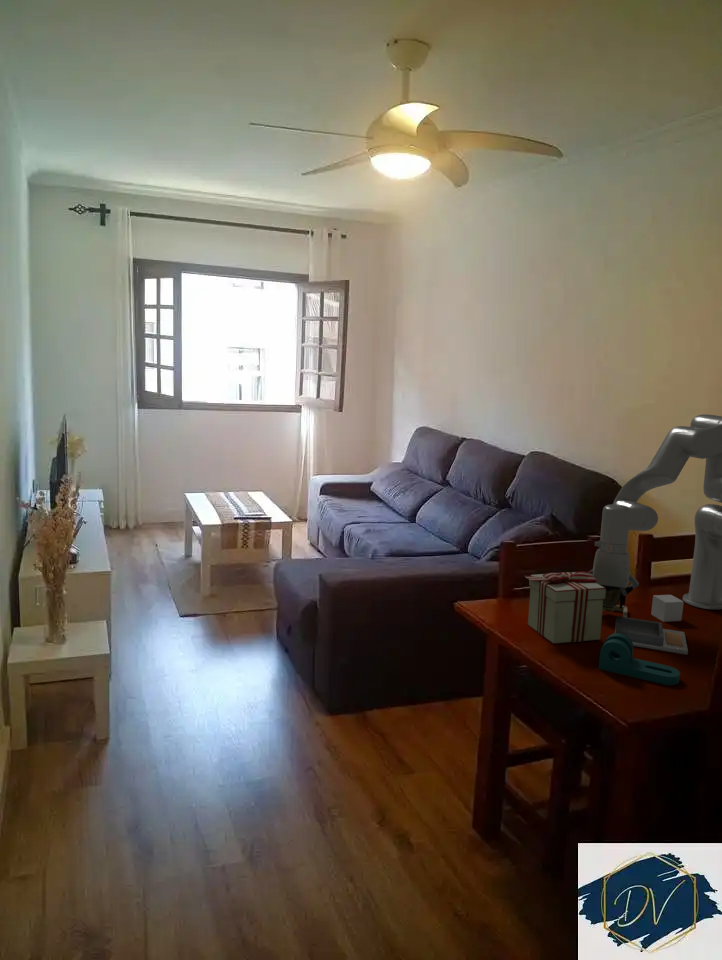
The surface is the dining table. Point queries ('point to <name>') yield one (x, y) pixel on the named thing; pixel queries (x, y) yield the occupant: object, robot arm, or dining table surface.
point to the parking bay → (624, 609)
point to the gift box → (566, 606)
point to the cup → (611, 598)
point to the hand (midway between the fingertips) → (608, 604)
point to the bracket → (633, 662)
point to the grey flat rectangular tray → (651, 635)
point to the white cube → (667, 608)
